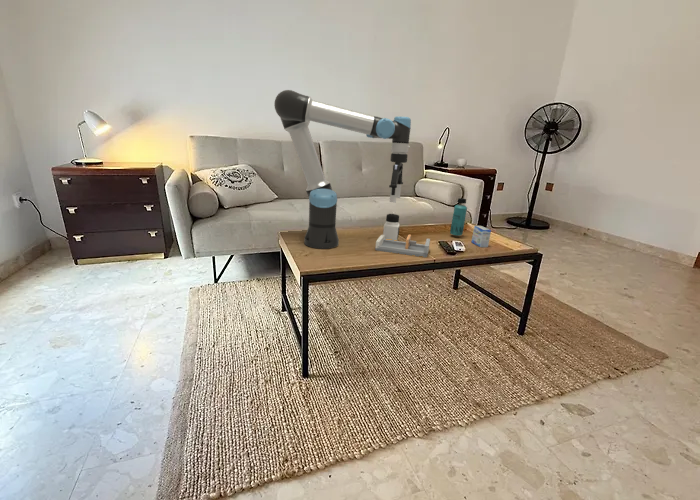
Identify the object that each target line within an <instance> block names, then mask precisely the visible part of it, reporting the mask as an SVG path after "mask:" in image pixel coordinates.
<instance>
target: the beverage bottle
mask: <svg viewBox="0 0 700 500" xmlns="http://www.w3.org/2000/svg"><path fill="white" fill-rule="evenodd" d="M456 203H458V204H456V205H454V207H453V213H452V219H451V225H450V229H449V231H450V232H449V233H450V234H451V235H453V236H458V237H459V236H460V237H461V236H463V234H464V227H465V221H466V217H467V210H468V207H467V205H464V204H466V203H467V199H466V198H460V197H459V198H458V199H457V202H456Z"/></svg>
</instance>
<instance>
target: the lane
mask: <svg viewBox="0 0 700 500" xmlns="http://www.w3.org/2000/svg"><path fill="white" fill-rule="evenodd" d="M384 236H385V235H383V234H380V236H378V238H377V240H376V241H375V251H376V252H377V251H378V252H379V251H380V252H385V253H386V252H387V253H391V252H392V254H398V253H399V254H400V255H405V254H406V256H412V255H415V256H414V257H419V256H423V257H422V258H426V257H427V258H428V254H429V250H430V243H431V238H426V240H425V243H424V244H422V243H421V244H420V243H416V245H415V244H410V246H409V248H408V249H405V246H406V241H399V240H397V241H394V240H386V239H384Z"/></svg>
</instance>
